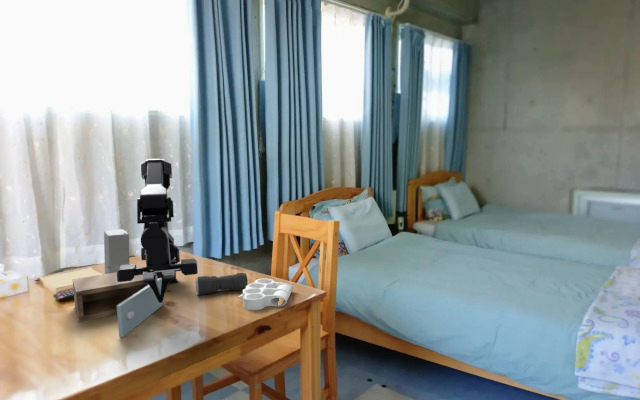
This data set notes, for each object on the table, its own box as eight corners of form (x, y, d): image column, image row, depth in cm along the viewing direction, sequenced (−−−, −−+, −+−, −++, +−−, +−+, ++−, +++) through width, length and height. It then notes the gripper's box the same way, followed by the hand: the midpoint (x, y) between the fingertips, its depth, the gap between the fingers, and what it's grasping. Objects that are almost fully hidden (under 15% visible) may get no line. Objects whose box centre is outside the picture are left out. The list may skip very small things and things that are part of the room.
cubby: (150, 292, 133) (148, 267, 132) (159, 304, 123) (157, 277, 122) (75, 306, 122) (72, 279, 121) (78, 321, 112) (76, 291, 111)
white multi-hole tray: (284, 312, 118) (231, 311, 119) (294, 289, 135) (248, 288, 137) (283, 300, 117) (230, 299, 118) (294, 278, 135) (247, 277, 136)
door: (160, 303, 123) (159, 277, 122) (168, 304, 123) (166, 278, 122) (119, 336, 103) (116, 305, 102) (127, 336, 103) (125, 306, 101)
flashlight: (246, 285, 139) (245, 269, 138) (249, 291, 134) (248, 274, 133) (195, 291, 134) (195, 274, 133) (197, 297, 128) (196, 280, 128)
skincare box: (104, 276, 149) (100, 230, 147) (126, 272, 153) (123, 228, 151) (109, 282, 143) (105, 235, 140) (132, 278, 147) (129, 232, 144)
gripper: (194, 233, 120) (197, 287, 122) (120, 238, 114) (124, 295, 116) (196, 242, 109) (199, 301, 111) (114, 248, 103) (119, 311, 106)
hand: (160, 302), depth 111 cm, fingers closed
